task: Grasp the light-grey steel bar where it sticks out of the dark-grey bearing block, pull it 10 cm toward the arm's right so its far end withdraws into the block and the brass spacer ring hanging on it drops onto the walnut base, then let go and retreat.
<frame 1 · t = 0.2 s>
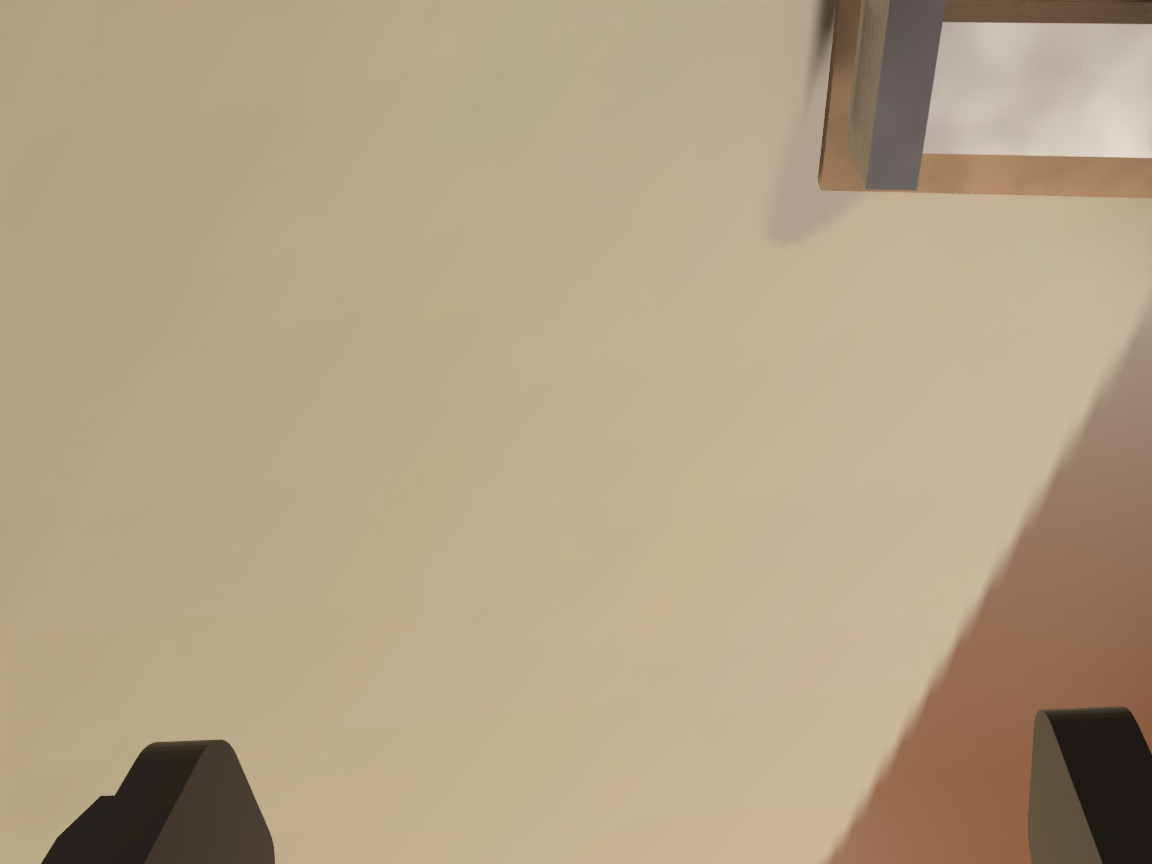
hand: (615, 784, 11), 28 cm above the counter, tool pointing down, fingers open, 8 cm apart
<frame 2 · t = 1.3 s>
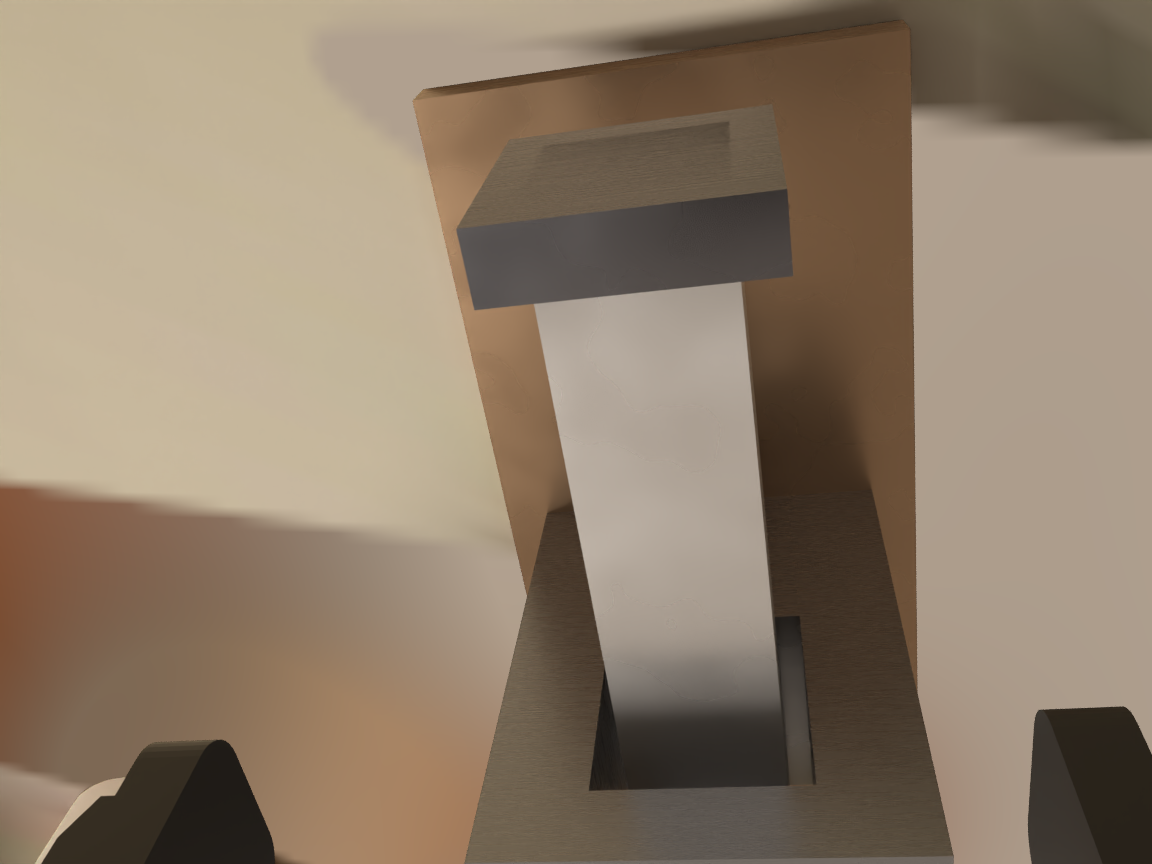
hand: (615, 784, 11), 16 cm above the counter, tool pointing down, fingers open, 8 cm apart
shaft: (709, 742, 22), point 8 cm above the counter, slide at 0.0 cm, touching spacer
bearing block: (715, 558, 29), on the counter
cylindrical container: (170, 844, 38), on the counter
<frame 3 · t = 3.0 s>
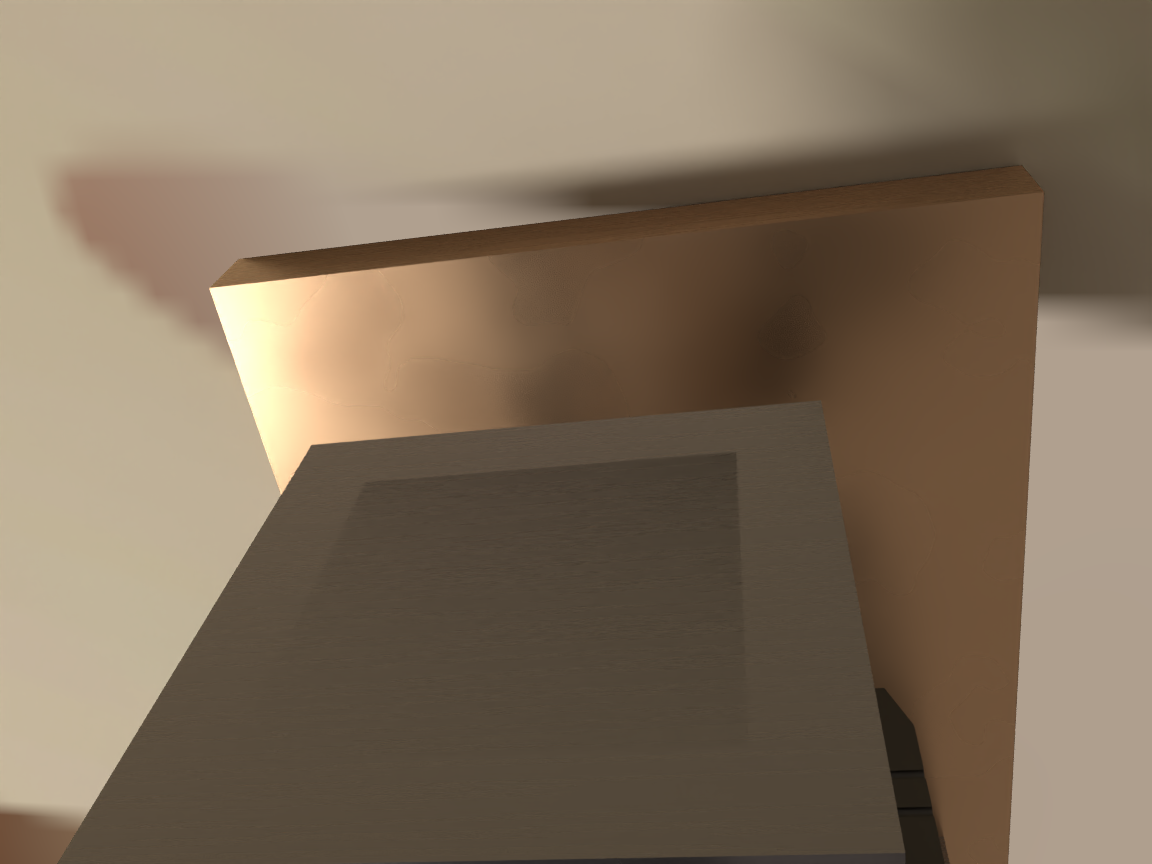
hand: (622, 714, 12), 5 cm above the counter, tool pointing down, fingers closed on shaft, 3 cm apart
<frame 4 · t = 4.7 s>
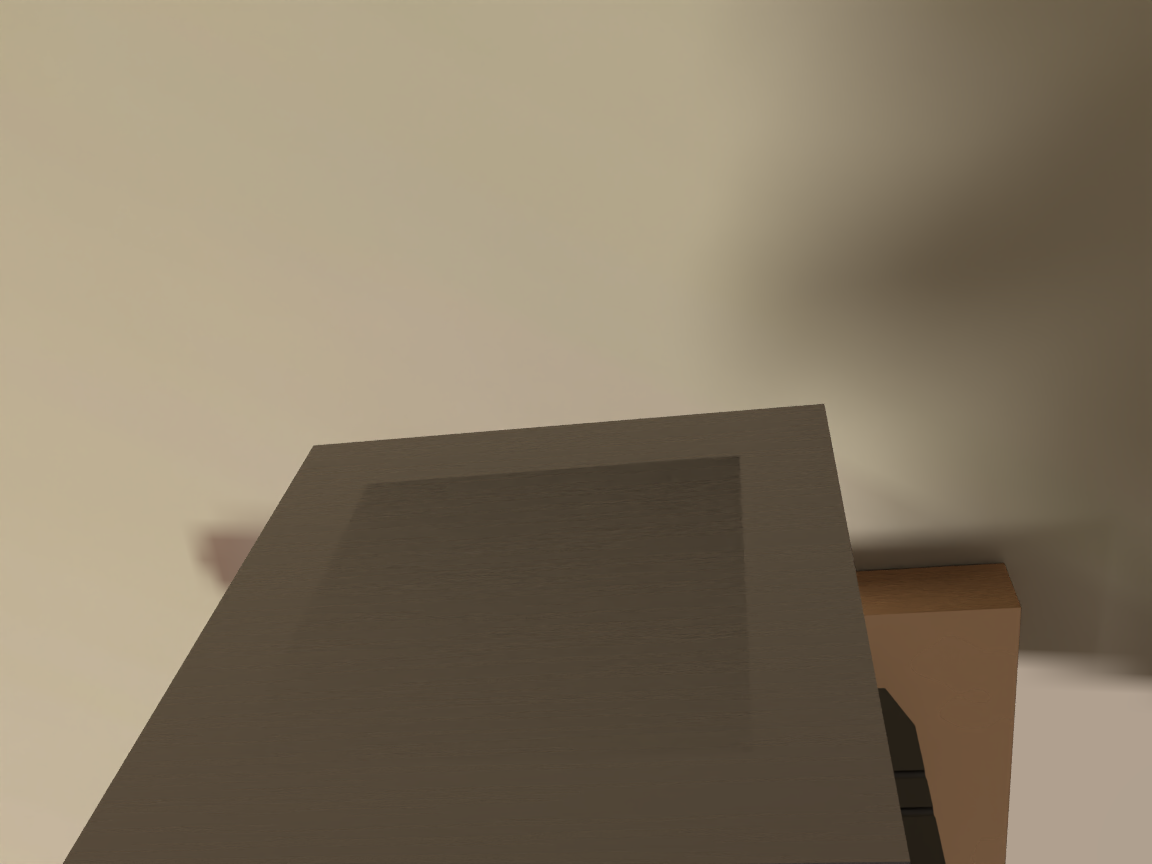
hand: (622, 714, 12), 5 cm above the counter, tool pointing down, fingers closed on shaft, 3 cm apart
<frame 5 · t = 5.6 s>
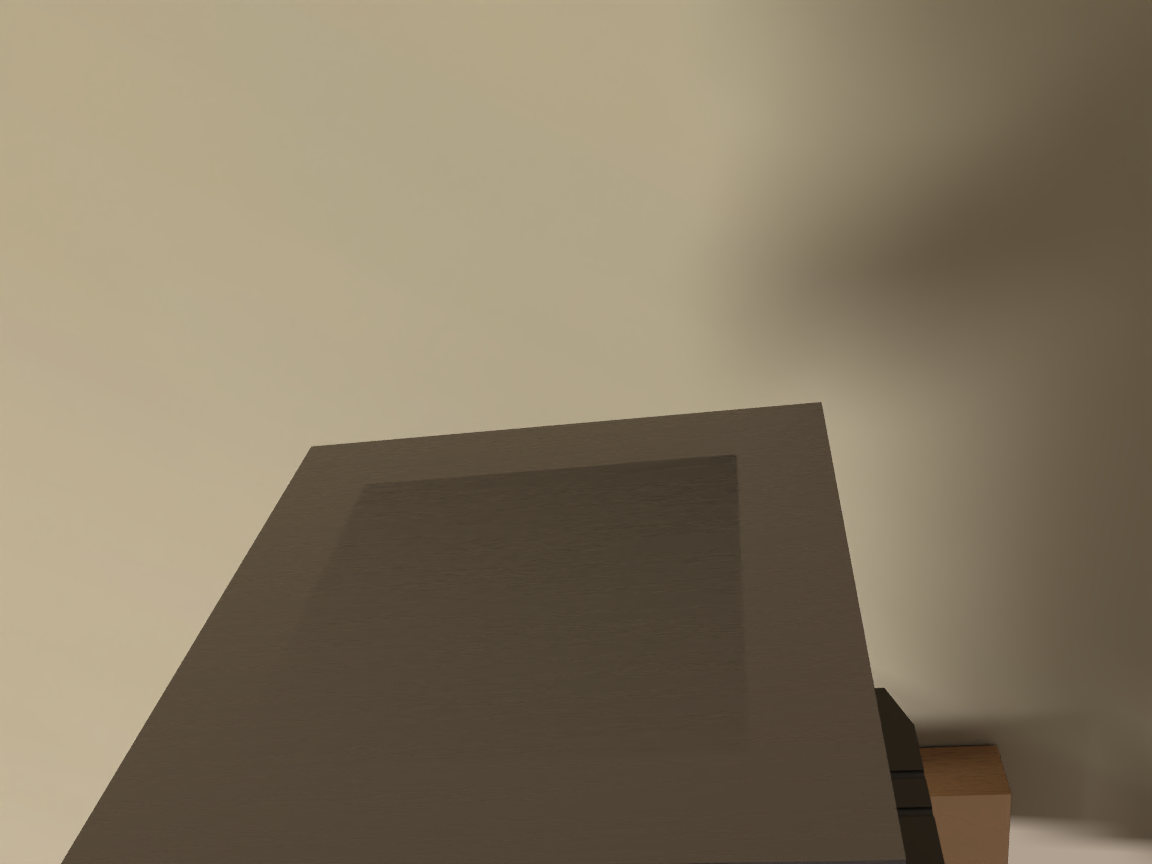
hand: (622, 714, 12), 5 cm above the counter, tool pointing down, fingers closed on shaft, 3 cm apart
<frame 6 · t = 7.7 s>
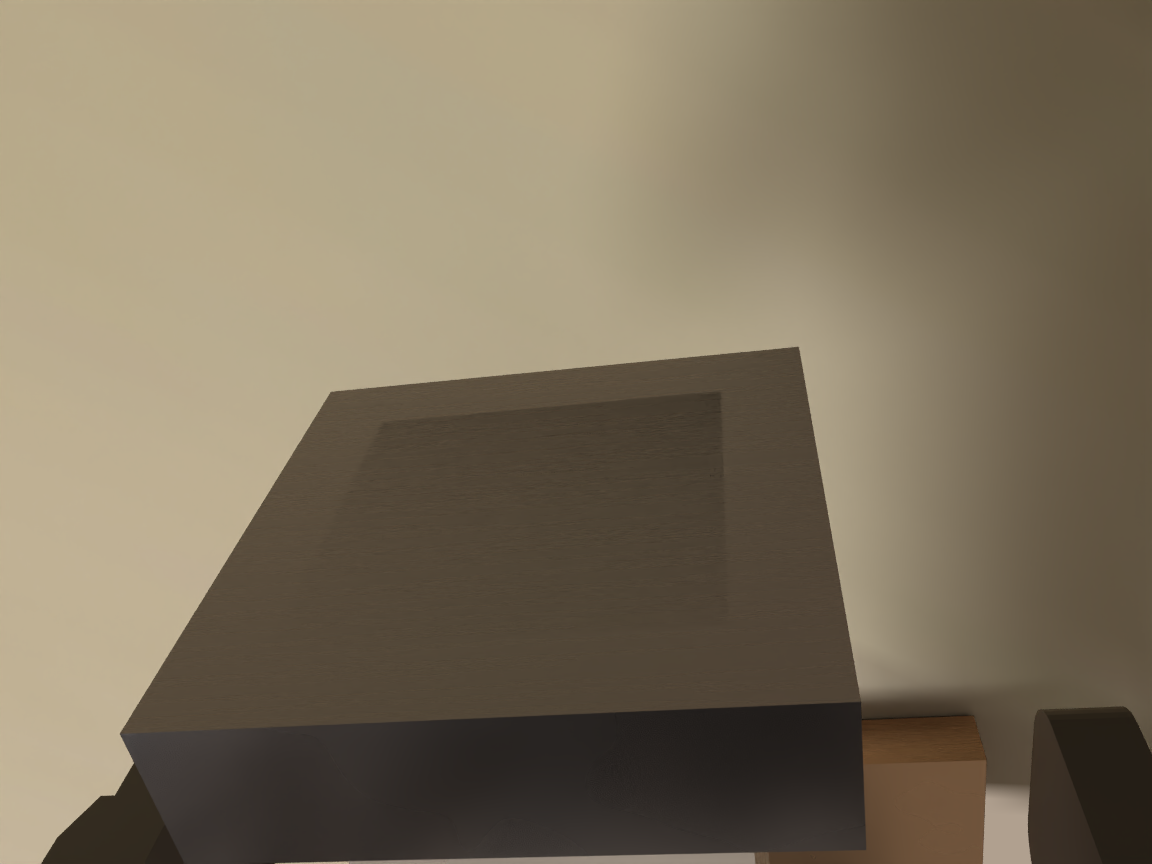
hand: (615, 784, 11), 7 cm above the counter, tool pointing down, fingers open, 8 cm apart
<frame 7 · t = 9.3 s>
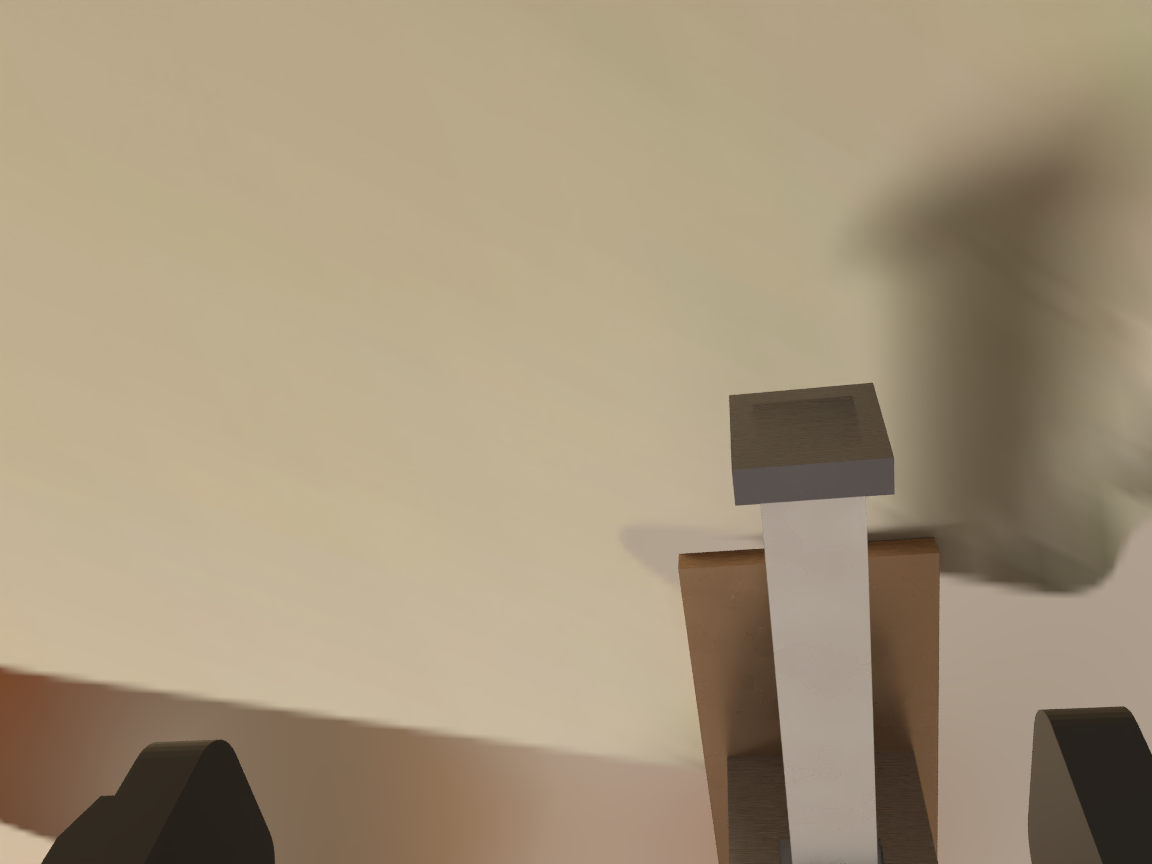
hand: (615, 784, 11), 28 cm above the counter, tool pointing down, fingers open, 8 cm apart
shaft: (824, 722, 38), point 8 cm above the counter, slide at 9.9 cm
bearing block: (819, 776, 50), on the counter
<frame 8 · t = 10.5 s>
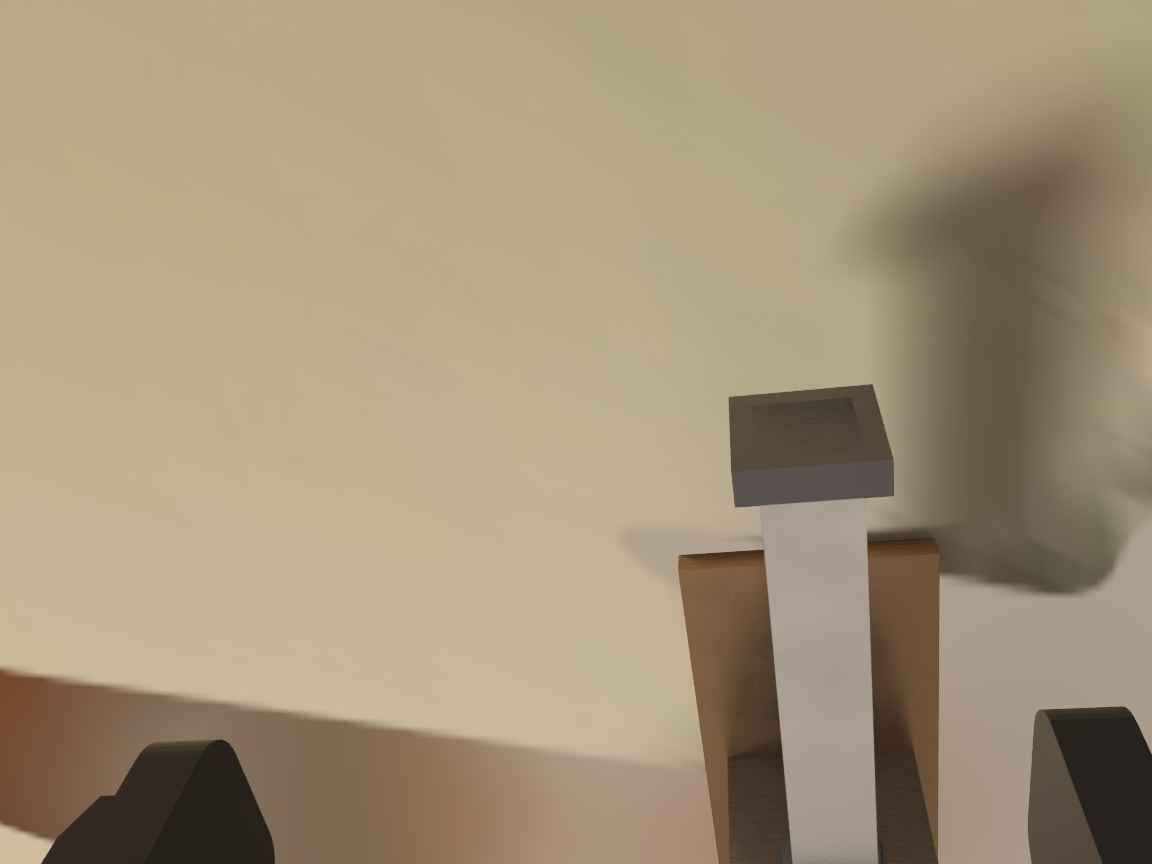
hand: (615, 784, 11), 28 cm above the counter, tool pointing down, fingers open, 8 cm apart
shaft: (824, 723, 38), point 7 cm above the counter, slide at 9.9 cm
bearing block: (820, 777, 50), on the counter
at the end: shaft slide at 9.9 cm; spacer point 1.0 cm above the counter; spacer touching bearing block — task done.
